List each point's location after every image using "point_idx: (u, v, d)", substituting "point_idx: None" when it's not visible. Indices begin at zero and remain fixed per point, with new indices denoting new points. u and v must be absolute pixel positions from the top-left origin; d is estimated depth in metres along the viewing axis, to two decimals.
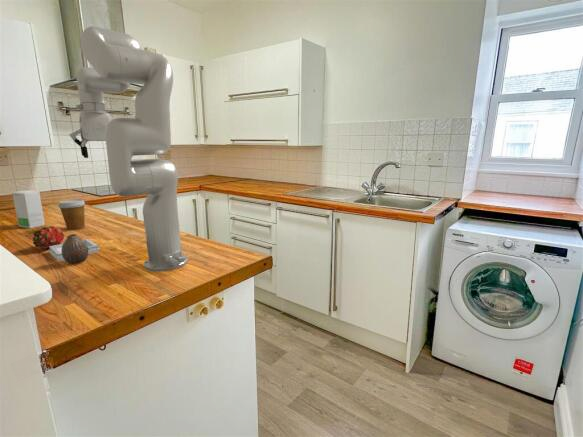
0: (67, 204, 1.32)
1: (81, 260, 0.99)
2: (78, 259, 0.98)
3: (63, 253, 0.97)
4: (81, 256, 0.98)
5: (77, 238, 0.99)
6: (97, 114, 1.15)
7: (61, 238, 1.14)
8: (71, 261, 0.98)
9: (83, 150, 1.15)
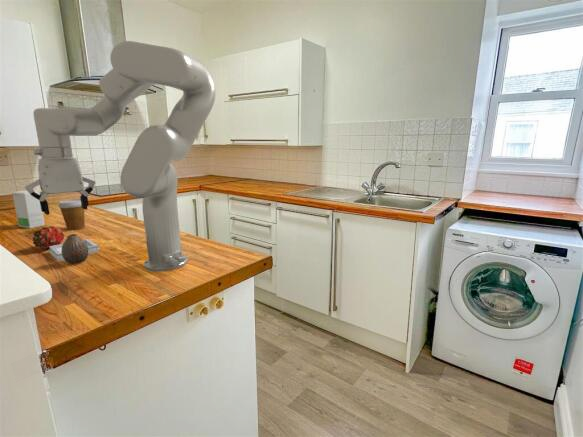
0: (67, 204, 1.32)
1: (81, 260, 0.99)
2: (78, 259, 0.98)
3: (63, 253, 0.97)
4: (81, 256, 0.98)
5: (77, 238, 0.99)
6: (61, 161, 0.91)
7: (61, 238, 1.14)
8: (71, 261, 0.98)
9: (43, 205, 0.92)
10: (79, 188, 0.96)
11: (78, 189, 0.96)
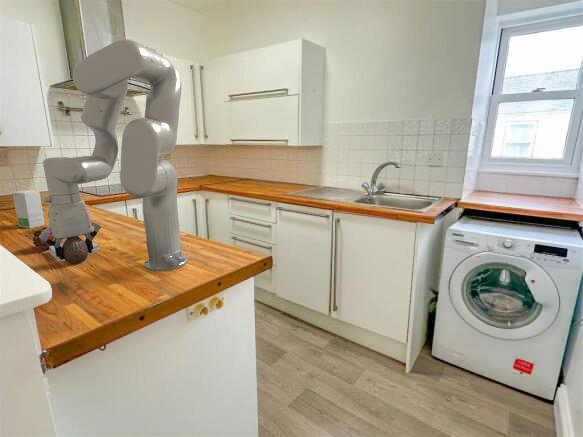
0: None
1: (81, 260, 0.99)
2: (78, 259, 0.98)
3: (63, 253, 0.97)
4: (81, 256, 0.98)
5: (77, 238, 0.99)
6: (70, 206, 0.95)
7: None
8: (71, 261, 0.98)
9: (57, 251, 0.96)
10: (87, 231, 0.99)
11: (86, 232, 0.99)
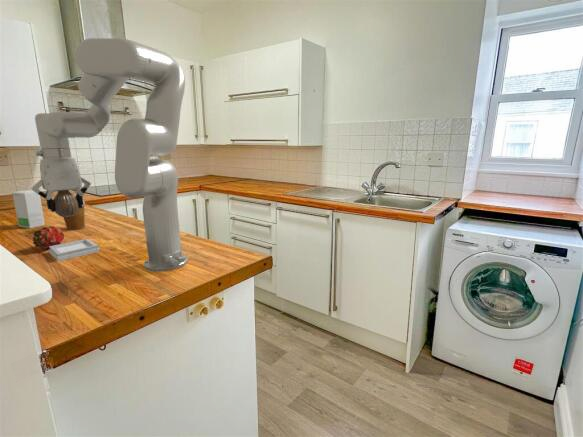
0: None
1: (71, 213, 1.05)
2: (69, 212, 1.04)
3: (54, 205, 1.02)
4: (71, 209, 1.04)
5: (68, 192, 1.04)
6: (60, 161, 1.00)
7: (61, 238, 1.14)
8: (62, 213, 1.03)
9: (49, 203, 1.01)
10: (77, 186, 1.05)
11: (77, 187, 1.04)
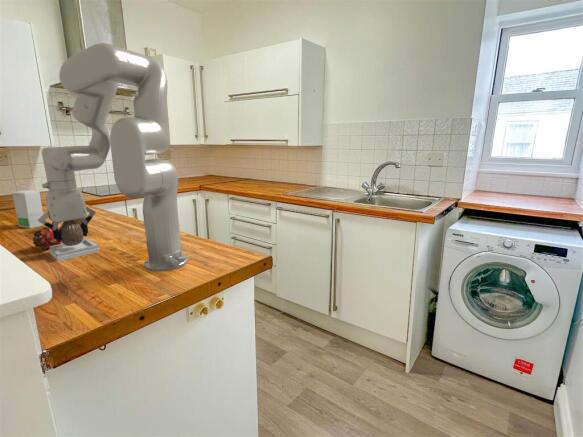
0: None
1: (77, 242, 1.07)
2: (74, 241, 1.06)
3: (60, 235, 1.05)
4: (77, 238, 1.07)
5: (73, 222, 1.07)
6: (66, 192, 1.03)
7: None
8: (67, 243, 1.06)
9: (55, 234, 1.04)
10: (83, 215, 1.07)
11: (82, 216, 1.07)
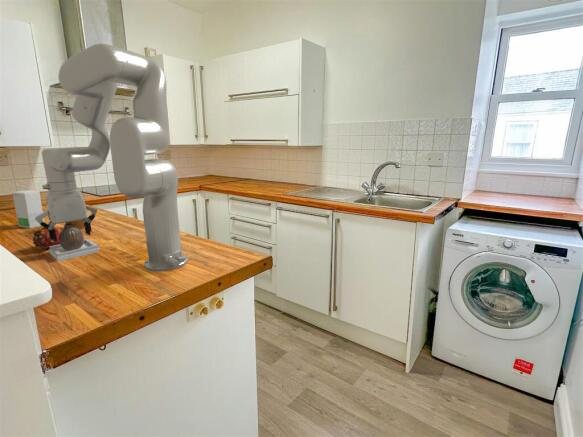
0: None
1: (77, 247, 1.07)
2: (75, 246, 1.06)
3: (60, 240, 1.05)
4: (77, 243, 1.07)
5: (73, 227, 1.07)
6: (66, 193, 1.03)
7: None
8: (68, 248, 1.06)
9: (51, 233, 1.03)
10: (83, 216, 1.07)
11: (82, 217, 1.07)
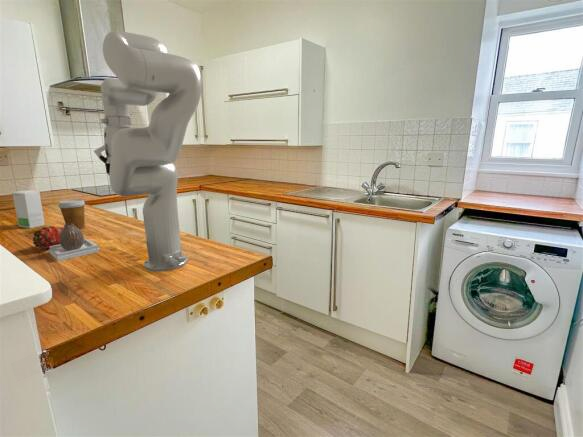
0: (67, 204, 1.32)
1: (77, 247, 1.07)
2: (75, 246, 1.06)
3: (60, 240, 1.05)
4: (77, 243, 1.07)
5: (73, 227, 1.07)
6: (123, 128, 1.06)
7: None
8: (68, 248, 1.06)
9: (108, 167, 1.06)
10: None
11: None
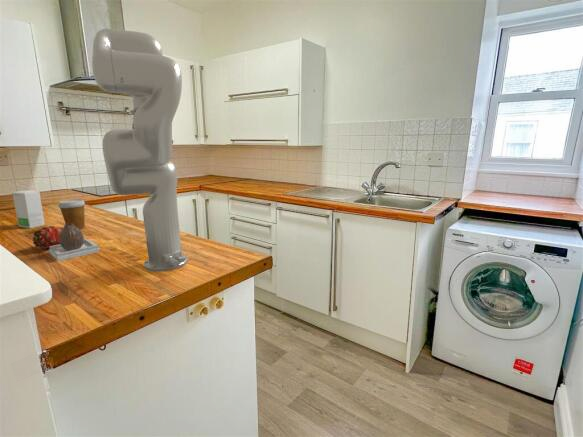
0: (67, 204, 1.32)
1: (77, 247, 1.07)
2: (75, 246, 1.06)
3: (60, 240, 1.05)
4: (77, 243, 1.07)
5: (73, 227, 1.07)
6: None
7: None
8: (68, 248, 1.06)
9: None
10: None
11: None
